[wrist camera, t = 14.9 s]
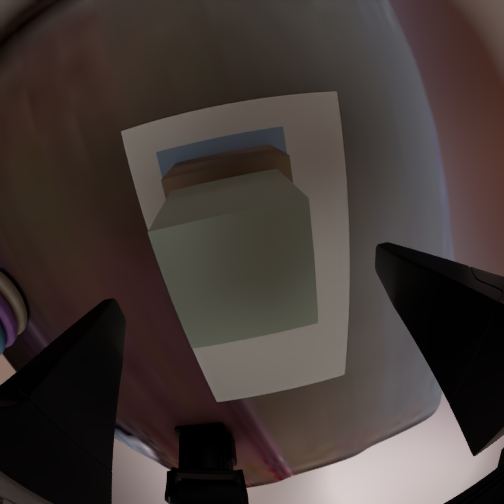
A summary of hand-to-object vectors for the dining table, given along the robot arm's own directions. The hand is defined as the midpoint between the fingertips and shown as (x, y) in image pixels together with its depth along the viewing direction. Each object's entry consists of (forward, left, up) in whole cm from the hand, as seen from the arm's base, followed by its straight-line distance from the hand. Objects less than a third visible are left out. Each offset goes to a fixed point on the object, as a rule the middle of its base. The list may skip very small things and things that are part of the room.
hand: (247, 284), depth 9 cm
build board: (+1, -8, -11) cm, 14 cm away
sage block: (0, 0, -5) cm, 5 cm away
